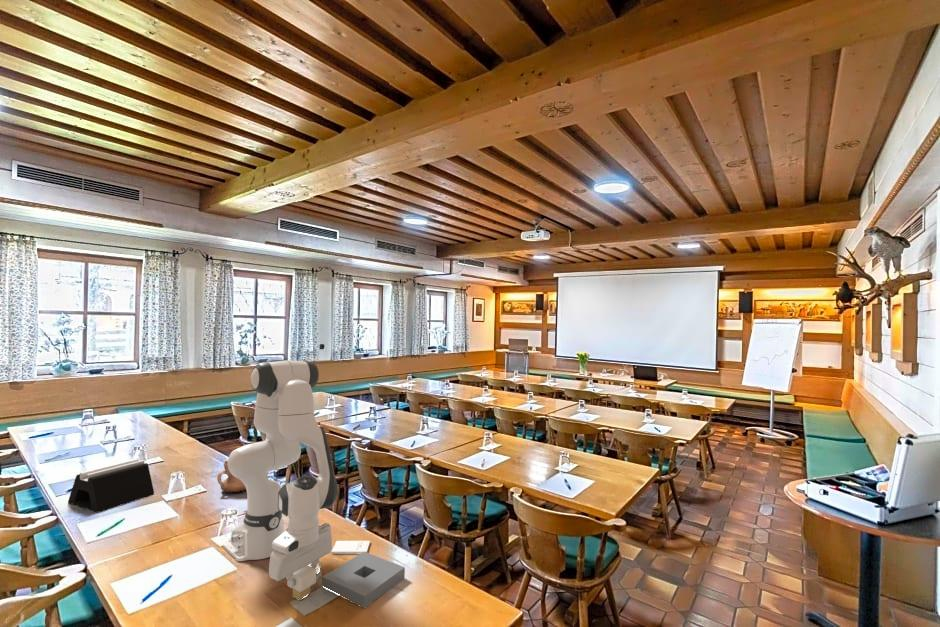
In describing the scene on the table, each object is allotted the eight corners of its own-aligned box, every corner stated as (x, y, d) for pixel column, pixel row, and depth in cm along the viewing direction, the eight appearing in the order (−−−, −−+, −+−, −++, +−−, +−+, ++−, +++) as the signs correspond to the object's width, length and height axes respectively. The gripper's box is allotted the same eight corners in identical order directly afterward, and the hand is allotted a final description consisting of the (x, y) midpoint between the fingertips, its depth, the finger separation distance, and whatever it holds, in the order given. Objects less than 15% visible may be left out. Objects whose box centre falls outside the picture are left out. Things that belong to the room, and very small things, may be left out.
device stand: (67, 503, 192) (69, 469, 193) (124, 487, 213) (126, 456, 213) (97, 513, 184) (99, 477, 184) (154, 494, 204) (155, 462, 205)
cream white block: (286, 597, 130) (287, 571, 130) (302, 588, 134) (303, 563, 135) (300, 604, 127) (300, 578, 127) (315, 594, 131) (316, 569, 131)
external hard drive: (336, 544, 162) (370, 544, 163) (331, 556, 154) (366, 555, 155) (336, 540, 162) (370, 539, 163) (331, 551, 154) (366, 551, 155)
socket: (322, 588, 135) (322, 576, 135) (363, 561, 150) (364, 551, 150) (364, 608, 125) (364, 596, 125) (404, 578, 141) (404, 567, 141)
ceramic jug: (247, 481, 223) (248, 453, 223) (262, 487, 214) (262, 458, 215) (210, 492, 209) (210, 462, 209) (223, 499, 200) (224, 468, 200)
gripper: (323, 518, 141) (322, 561, 141) (266, 544, 124) (264, 594, 124) (337, 523, 138) (336, 567, 138) (280, 551, 121) (278, 601, 120)
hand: (301, 580), depth 131 cm, fingers closed on cream white block, 5 cm apart
